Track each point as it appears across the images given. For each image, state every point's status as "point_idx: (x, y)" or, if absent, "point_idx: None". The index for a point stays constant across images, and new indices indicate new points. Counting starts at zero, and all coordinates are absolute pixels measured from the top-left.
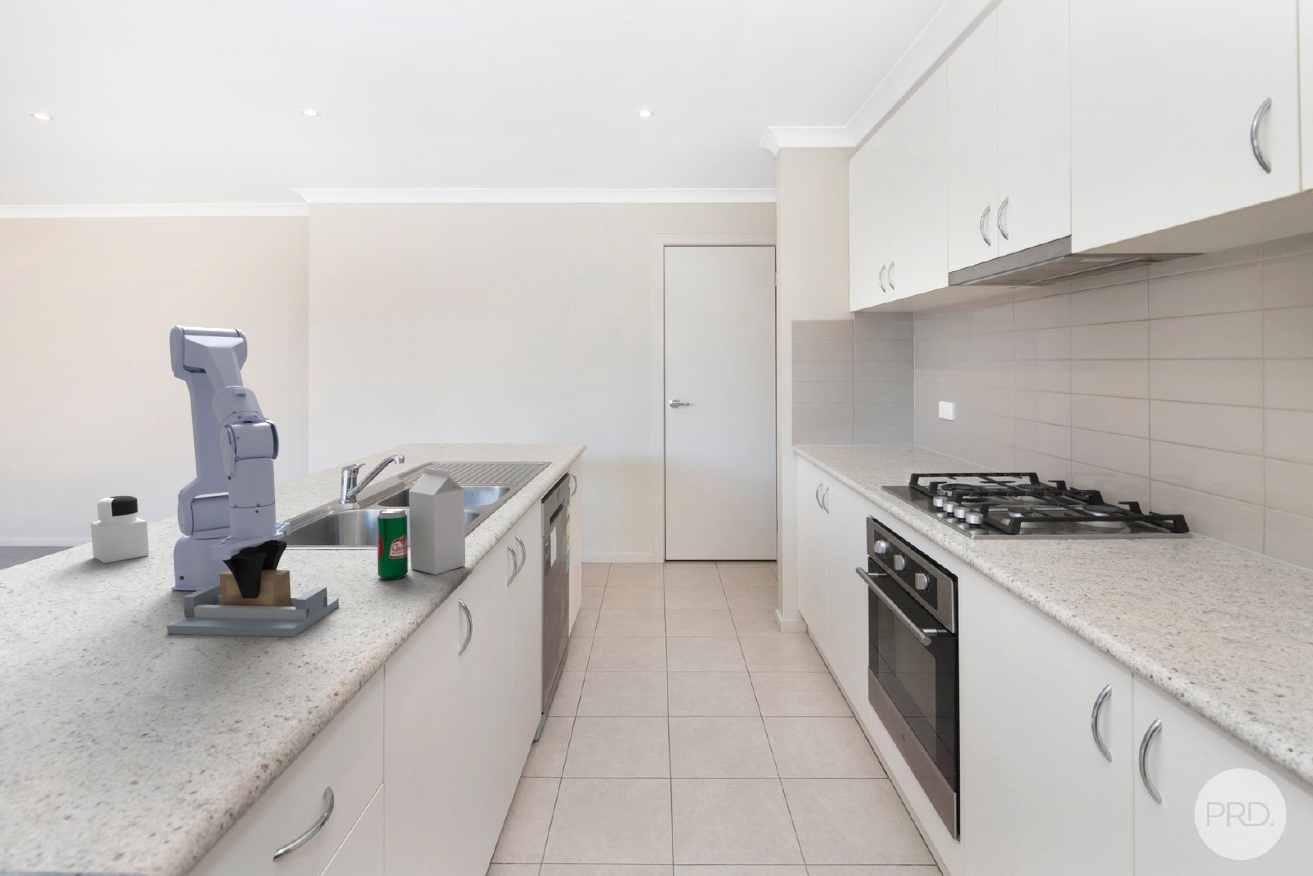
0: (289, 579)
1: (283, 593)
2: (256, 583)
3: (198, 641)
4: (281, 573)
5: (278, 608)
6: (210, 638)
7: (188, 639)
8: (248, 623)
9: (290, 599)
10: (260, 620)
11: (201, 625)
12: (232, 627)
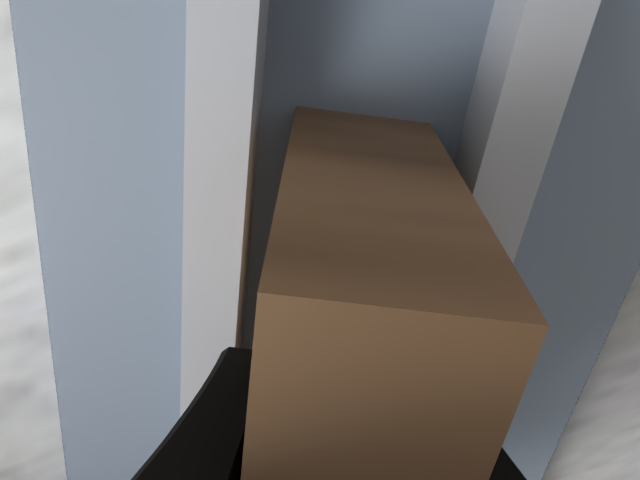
0: (288, 218)
1: (416, 179)
2: (520, 475)
3: (620, 411)
4: (440, 338)
5: (542, 130)
6: (593, 381)
7: (575, 458)
8: (567, 270)
9: (294, 132)
10: (527, 220)
11: (530, 477)
12: (605, 329)
